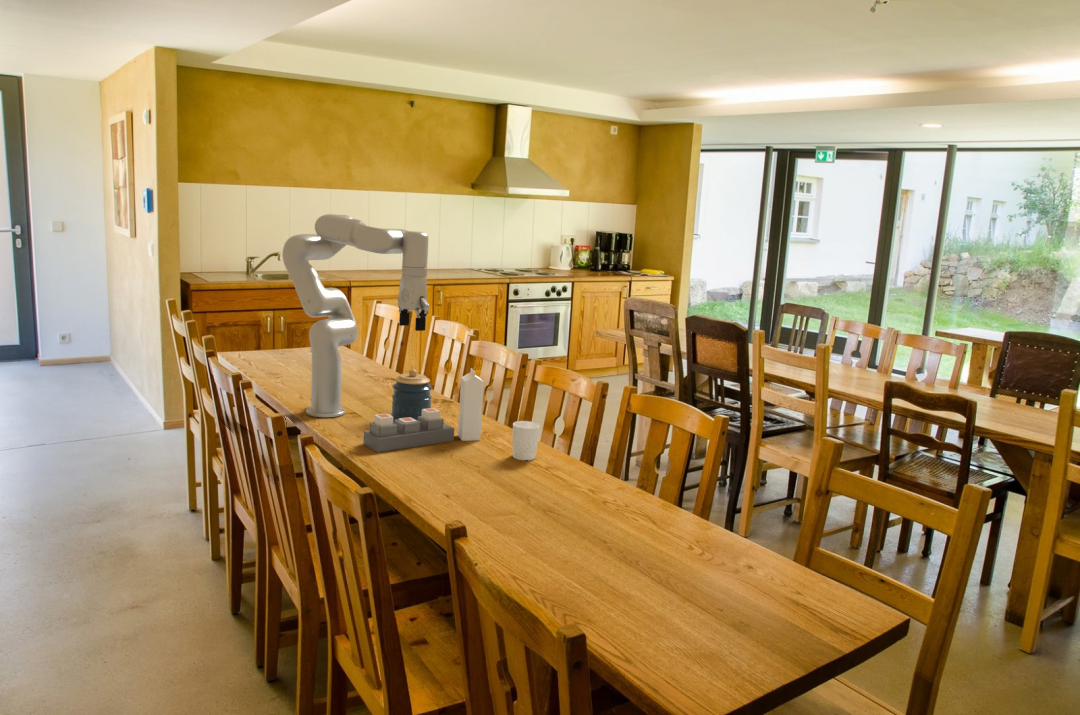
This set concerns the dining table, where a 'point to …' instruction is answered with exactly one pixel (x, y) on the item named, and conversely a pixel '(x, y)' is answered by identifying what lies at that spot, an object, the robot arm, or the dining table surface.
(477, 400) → the milk
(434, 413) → the button
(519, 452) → the white cup
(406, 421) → the button
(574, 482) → the dining table surface
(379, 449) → the button panel
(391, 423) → the button
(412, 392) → the canister
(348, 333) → the robot arm
